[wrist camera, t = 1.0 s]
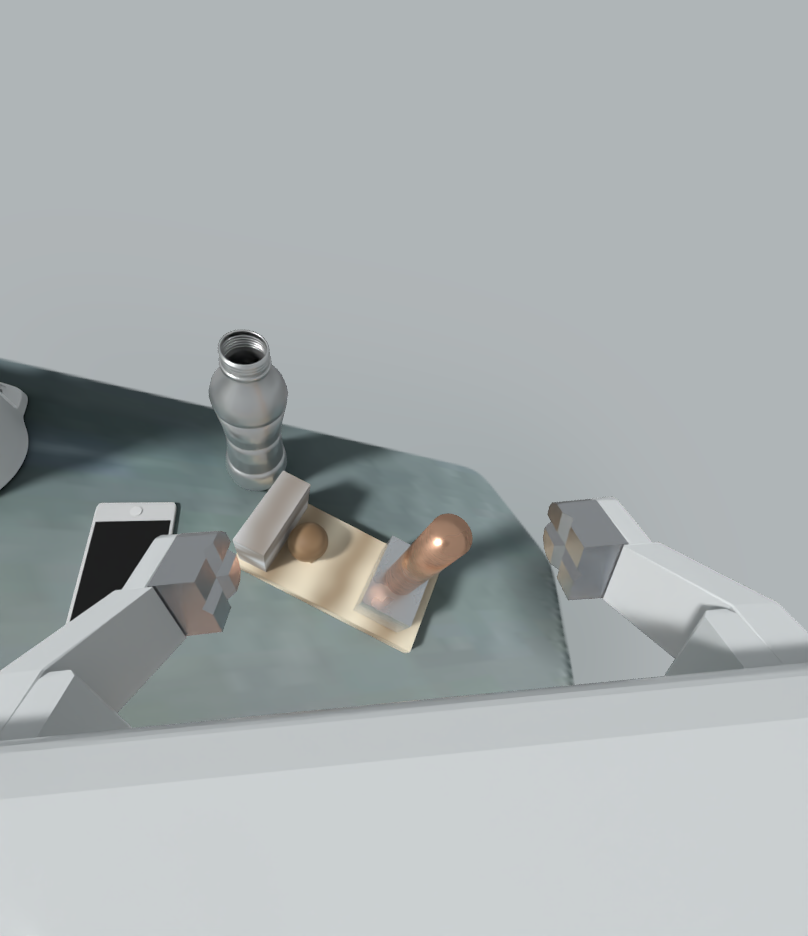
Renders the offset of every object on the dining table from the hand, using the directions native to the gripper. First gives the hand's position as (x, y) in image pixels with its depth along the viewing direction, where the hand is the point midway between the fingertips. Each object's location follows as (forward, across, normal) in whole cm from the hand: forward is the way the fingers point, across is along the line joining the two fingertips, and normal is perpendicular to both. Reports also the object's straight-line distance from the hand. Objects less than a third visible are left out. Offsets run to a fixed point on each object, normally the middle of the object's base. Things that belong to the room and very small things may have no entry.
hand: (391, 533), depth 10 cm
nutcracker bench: (+22, +7, +26) cm, 35 cm away
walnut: (+22, +10, +23) cm, 33 cm away
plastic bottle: (+31, +16, +19) cm, 40 cm away
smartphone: (+19, +27, +22) cm, 40 cm away
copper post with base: (+19, +1, +27) cm, 33 cm away
